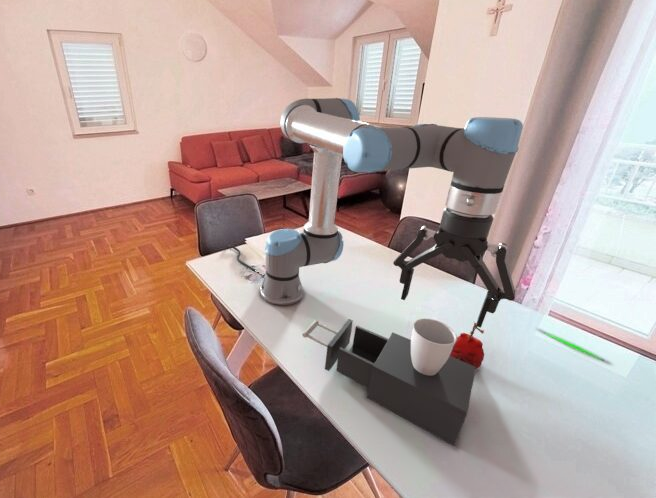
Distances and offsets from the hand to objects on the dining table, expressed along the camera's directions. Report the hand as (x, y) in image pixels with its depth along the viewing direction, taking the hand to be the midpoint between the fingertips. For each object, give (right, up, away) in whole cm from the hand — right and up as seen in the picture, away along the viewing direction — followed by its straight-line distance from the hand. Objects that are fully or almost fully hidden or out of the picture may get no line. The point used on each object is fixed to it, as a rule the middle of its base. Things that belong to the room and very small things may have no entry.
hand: (439, 309), depth 64 cm
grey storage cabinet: (0, -23, +10) cm, 25 cm away
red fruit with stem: (+18, -19, +20) cm, 33 cm away
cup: (0, -14, +6) cm, 16 cm away
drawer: (-13, -18, +19) cm, 29 cm away
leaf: (+53, -17, +26) cm, 61 cm away
